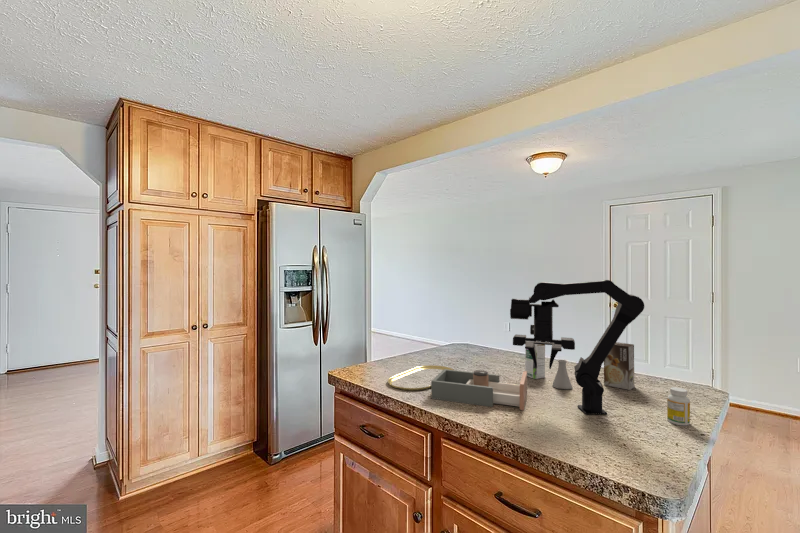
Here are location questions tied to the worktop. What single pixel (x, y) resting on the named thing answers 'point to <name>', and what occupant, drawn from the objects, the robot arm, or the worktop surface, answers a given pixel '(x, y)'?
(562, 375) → the flask
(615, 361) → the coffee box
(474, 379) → the spice jar
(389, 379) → the gold oval hoop
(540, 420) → the worktop surface
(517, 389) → the tray
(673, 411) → the supplement bottle
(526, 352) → the syrup box
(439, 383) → the dock
